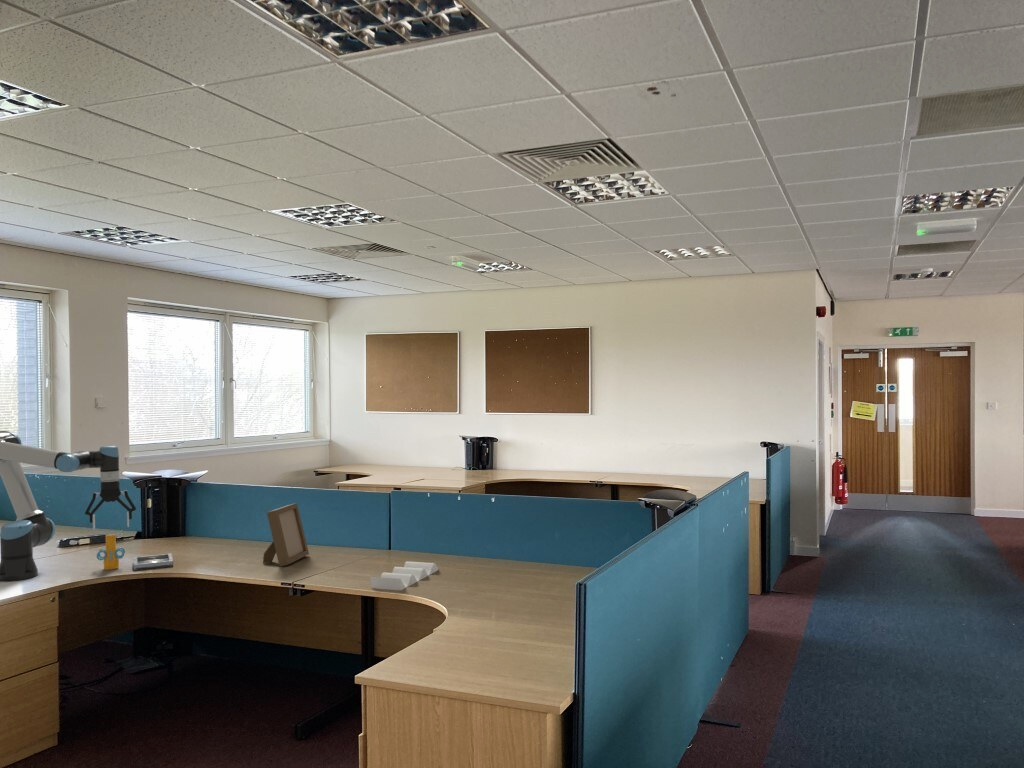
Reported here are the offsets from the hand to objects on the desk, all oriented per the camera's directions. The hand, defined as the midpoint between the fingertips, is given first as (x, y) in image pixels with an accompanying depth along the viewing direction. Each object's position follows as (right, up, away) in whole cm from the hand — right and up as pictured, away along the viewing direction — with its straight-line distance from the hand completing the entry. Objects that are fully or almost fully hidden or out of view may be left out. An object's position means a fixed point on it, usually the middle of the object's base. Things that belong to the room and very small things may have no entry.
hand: (111, 528), depth 350 cm
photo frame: (+74, -17, +9) cm, 77 cm away
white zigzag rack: (+136, -16, -28) cm, 139 cm away
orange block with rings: (0, -18, 0) cm, 18 cm away
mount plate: (+16, -18, +6) cm, 24 cm away
